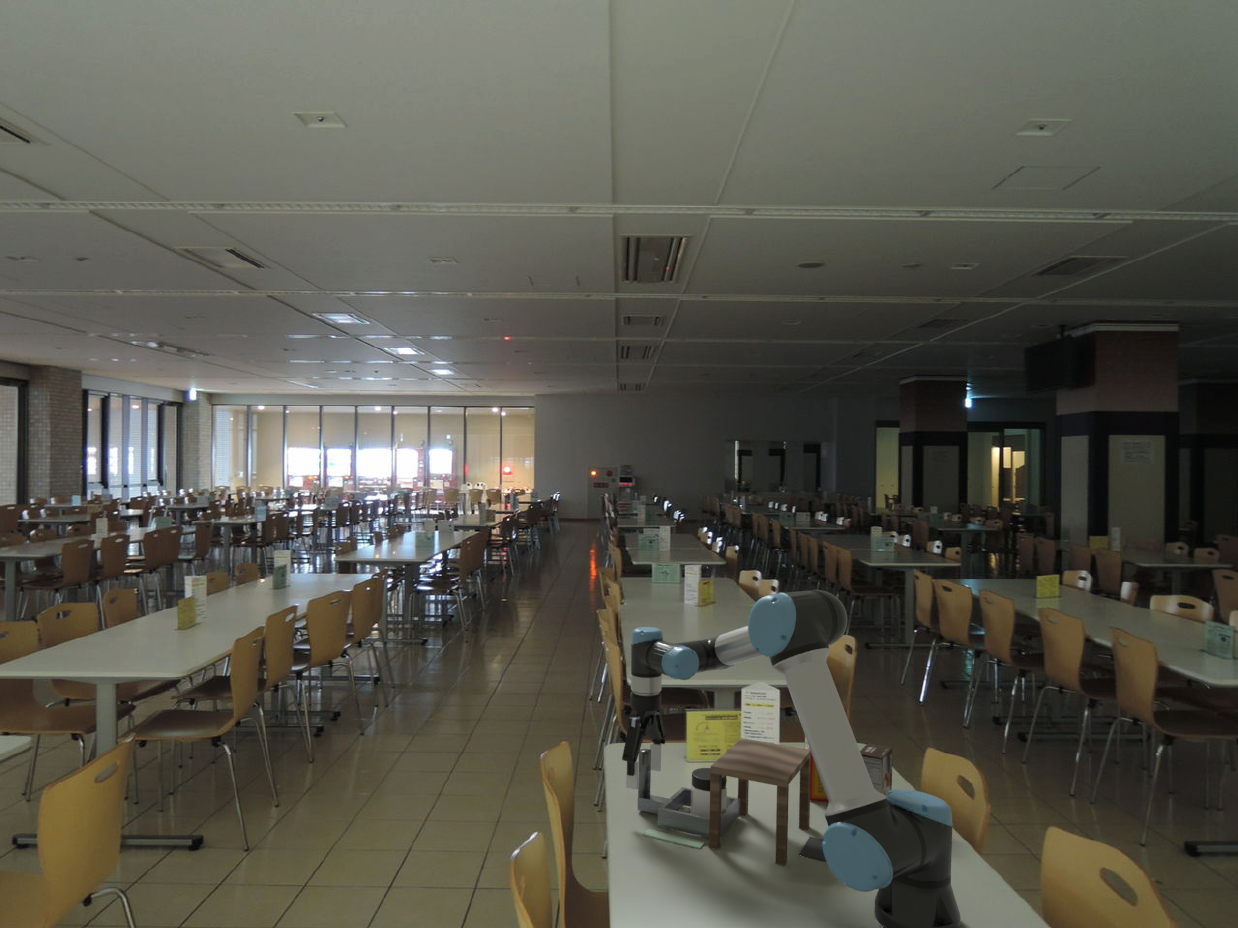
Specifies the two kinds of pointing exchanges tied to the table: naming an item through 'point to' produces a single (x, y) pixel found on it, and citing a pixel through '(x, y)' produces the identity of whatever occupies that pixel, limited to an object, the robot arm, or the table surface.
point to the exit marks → (673, 838)
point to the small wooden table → (762, 767)
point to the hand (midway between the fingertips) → (644, 778)
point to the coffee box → (879, 766)
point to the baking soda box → (815, 782)
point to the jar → (704, 792)
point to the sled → (678, 805)
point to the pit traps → (813, 849)
